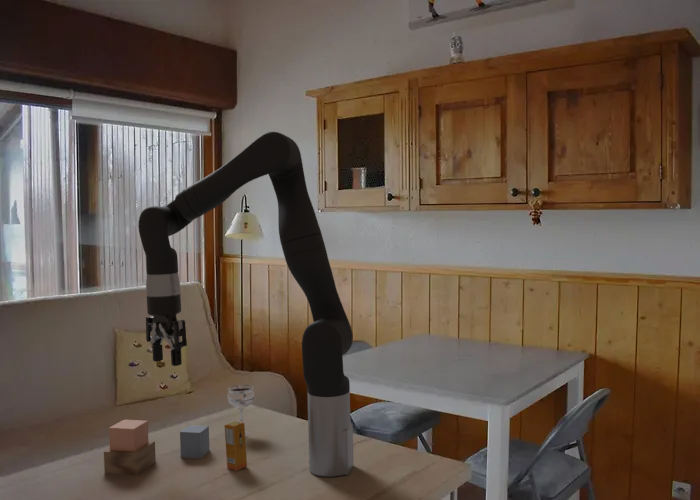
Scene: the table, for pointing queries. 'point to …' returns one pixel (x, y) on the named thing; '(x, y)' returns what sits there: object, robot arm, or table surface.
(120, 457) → the base block
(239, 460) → the supplement box
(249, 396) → the wineglass
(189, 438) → the slate block
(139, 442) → the top block
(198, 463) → the table surface
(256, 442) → the table surface
